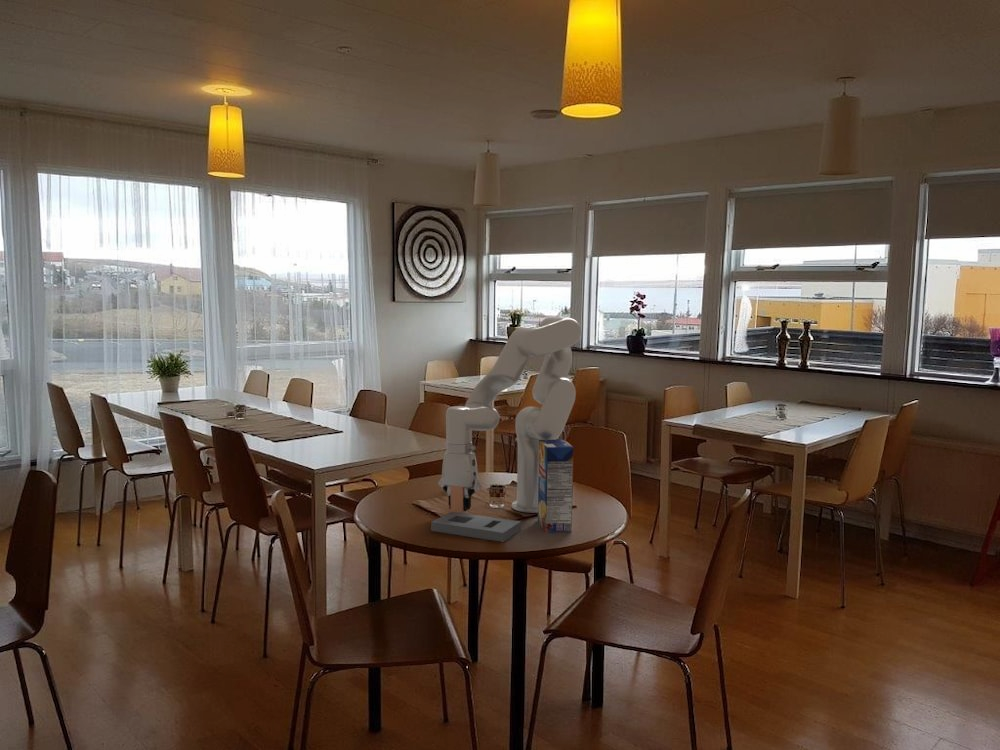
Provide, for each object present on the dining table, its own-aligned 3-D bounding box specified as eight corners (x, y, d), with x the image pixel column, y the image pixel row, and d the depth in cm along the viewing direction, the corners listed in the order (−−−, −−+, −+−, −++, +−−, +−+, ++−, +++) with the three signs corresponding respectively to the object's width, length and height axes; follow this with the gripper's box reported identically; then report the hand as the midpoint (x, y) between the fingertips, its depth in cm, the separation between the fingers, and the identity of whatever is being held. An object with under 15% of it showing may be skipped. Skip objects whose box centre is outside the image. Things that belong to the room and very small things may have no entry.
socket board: (451, 519, 223) (451, 511, 223) (520, 530, 214) (520, 521, 214) (431, 530, 212) (431, 522, 212) (503, 541, 203) (503, 532, 203)
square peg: (457, 511, 229) (456, 482, 229) (468, 513, 228) (468, 483, 227) (450, 515, 226) (450, 485, 225) (462, 516, 224) (462, 486, 223)
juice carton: (537, 520, 224) (539, 439, 221) (562, 519, 225) (564, 439, 222) (545, 532, 212) (547, 447, 210) (571, 532, 213) (573, 447, 211)
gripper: (490, 448, 225) (490, 509, 227) (440, 444, 232) (441, 502, 233) (478, 453, 218) (479, 515, 220) (428, 448, 225) (428, 509, 227)
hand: (459, 508), depth 227 cm, fingers closed on square peg, 4 cm apart
